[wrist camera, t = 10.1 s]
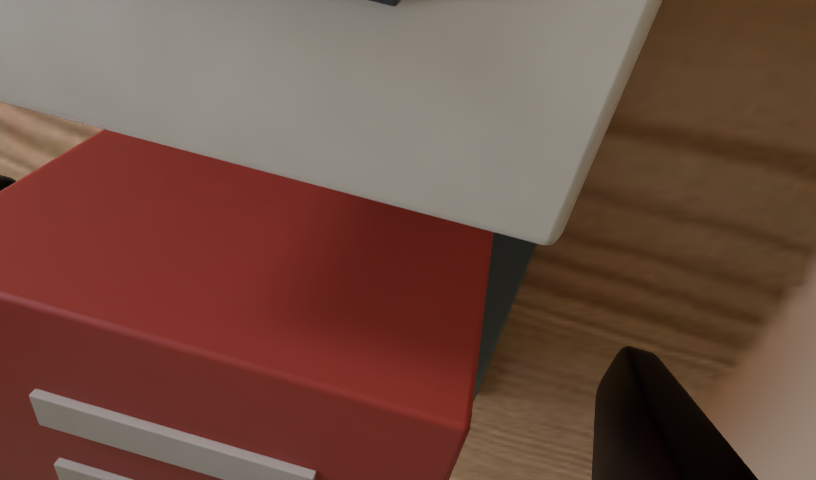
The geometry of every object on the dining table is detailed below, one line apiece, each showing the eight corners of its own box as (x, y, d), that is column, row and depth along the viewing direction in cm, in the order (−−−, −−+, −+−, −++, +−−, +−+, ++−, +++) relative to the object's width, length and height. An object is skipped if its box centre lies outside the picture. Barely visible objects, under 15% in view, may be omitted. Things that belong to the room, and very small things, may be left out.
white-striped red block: (435, 370, 10) (375, 665, 6) (204, 306, 10) (15, 553, 6) (503, 154, 7) (470, 441, 4) (191, 74, 7) (-134, 268, 4)
